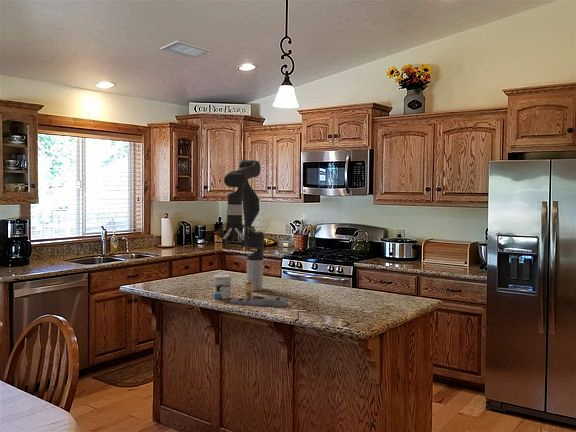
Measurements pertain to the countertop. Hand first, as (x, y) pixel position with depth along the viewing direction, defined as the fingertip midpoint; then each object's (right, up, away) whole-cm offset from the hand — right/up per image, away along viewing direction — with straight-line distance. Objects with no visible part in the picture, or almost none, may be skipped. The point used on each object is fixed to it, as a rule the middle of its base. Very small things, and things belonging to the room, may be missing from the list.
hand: (234, 247), depth 253 cm
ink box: (-9, -28, +21) cm, 36 cm away
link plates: (+12, -29, +8) cm, 32 cm away
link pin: (+6, -28, +16) cm, 33 cm away
